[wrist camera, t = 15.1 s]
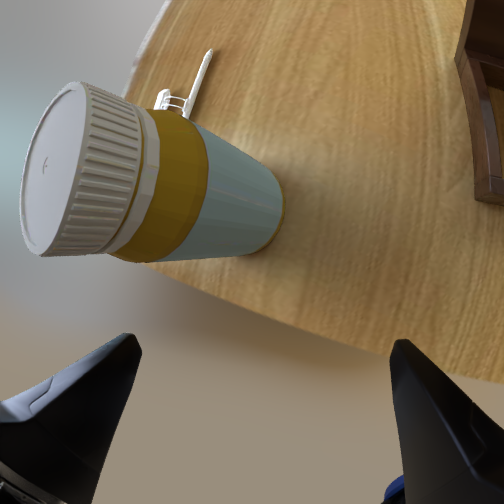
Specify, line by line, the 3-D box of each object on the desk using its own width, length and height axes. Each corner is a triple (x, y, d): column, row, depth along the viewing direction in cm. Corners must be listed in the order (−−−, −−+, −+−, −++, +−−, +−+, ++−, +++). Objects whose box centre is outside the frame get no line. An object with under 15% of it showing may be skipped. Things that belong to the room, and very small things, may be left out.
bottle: (208, 166, 22) (35, 107, 8) (290, 160, 19) (121, 35, 5) (202, 251, 22) (13, 258, 9) (285, 259, 19) (78, 286, 6)
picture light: (172, 179, 23) (156, 175, 21) (142, 174, 25) (127, 170, 23) (216, 49, 21) (204, 39, 19) (184, 55, 23) (172, 46, 21)
